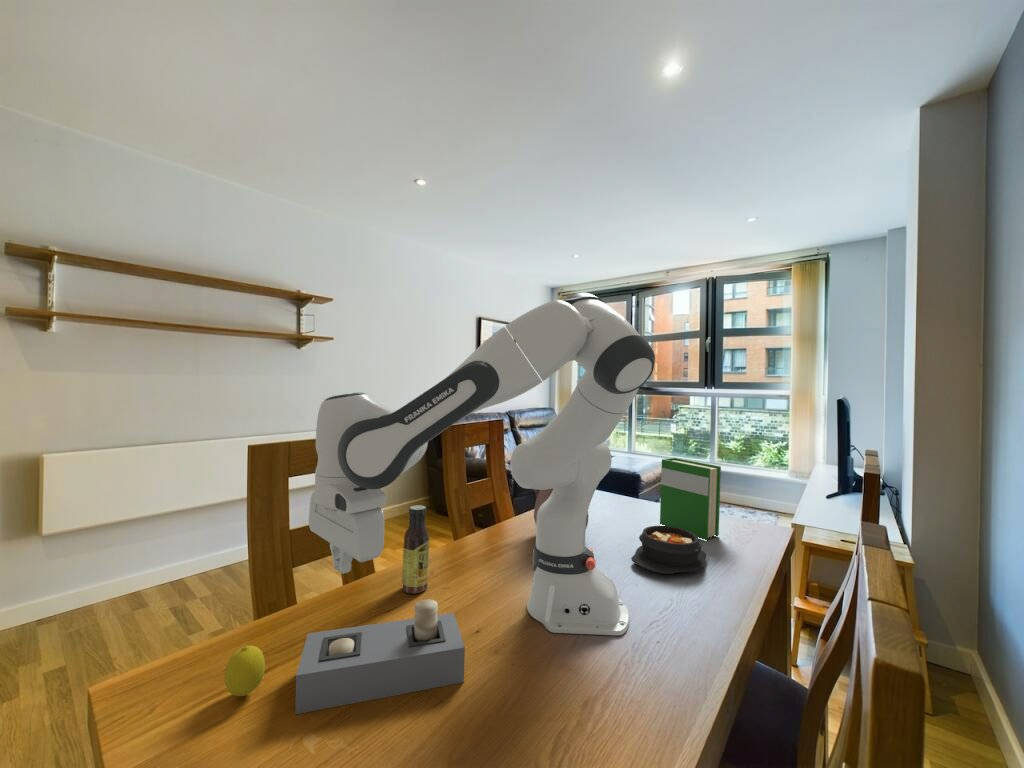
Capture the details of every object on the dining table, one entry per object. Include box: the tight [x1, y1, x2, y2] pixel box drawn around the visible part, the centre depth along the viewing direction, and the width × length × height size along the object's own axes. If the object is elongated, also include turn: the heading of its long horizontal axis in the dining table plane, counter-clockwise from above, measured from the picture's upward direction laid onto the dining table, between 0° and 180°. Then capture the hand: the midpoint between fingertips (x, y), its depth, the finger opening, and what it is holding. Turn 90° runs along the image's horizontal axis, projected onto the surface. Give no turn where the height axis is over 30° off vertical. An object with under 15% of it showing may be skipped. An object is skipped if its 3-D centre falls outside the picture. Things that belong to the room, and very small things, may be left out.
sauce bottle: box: [401, 504, 431, 595], centre depth 104 cm, size 6×6×20 cm
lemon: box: [224, 644, 266, 697], centre depth 69 cm, size 6×6×8 cm
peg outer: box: [329, 638, 354, 656], centre depth 72 cm, size 4×4×6 cm
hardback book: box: [659, 457, 722, 541], centre depth 148 cm, size 18×7×24 cm, turn 36°
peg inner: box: [414, 598, 439, 642], centre depth 76 cm, size 4×4×6 cm
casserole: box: [630, 525, 707, 575], centre depth 122 cm, size 25×19×8 cm
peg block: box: [295, 612, 466, 715], centre depth 74 cm, size 26×11×6 cm, turn 107°
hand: (342, 570), depth 72 cm, fingers closed
